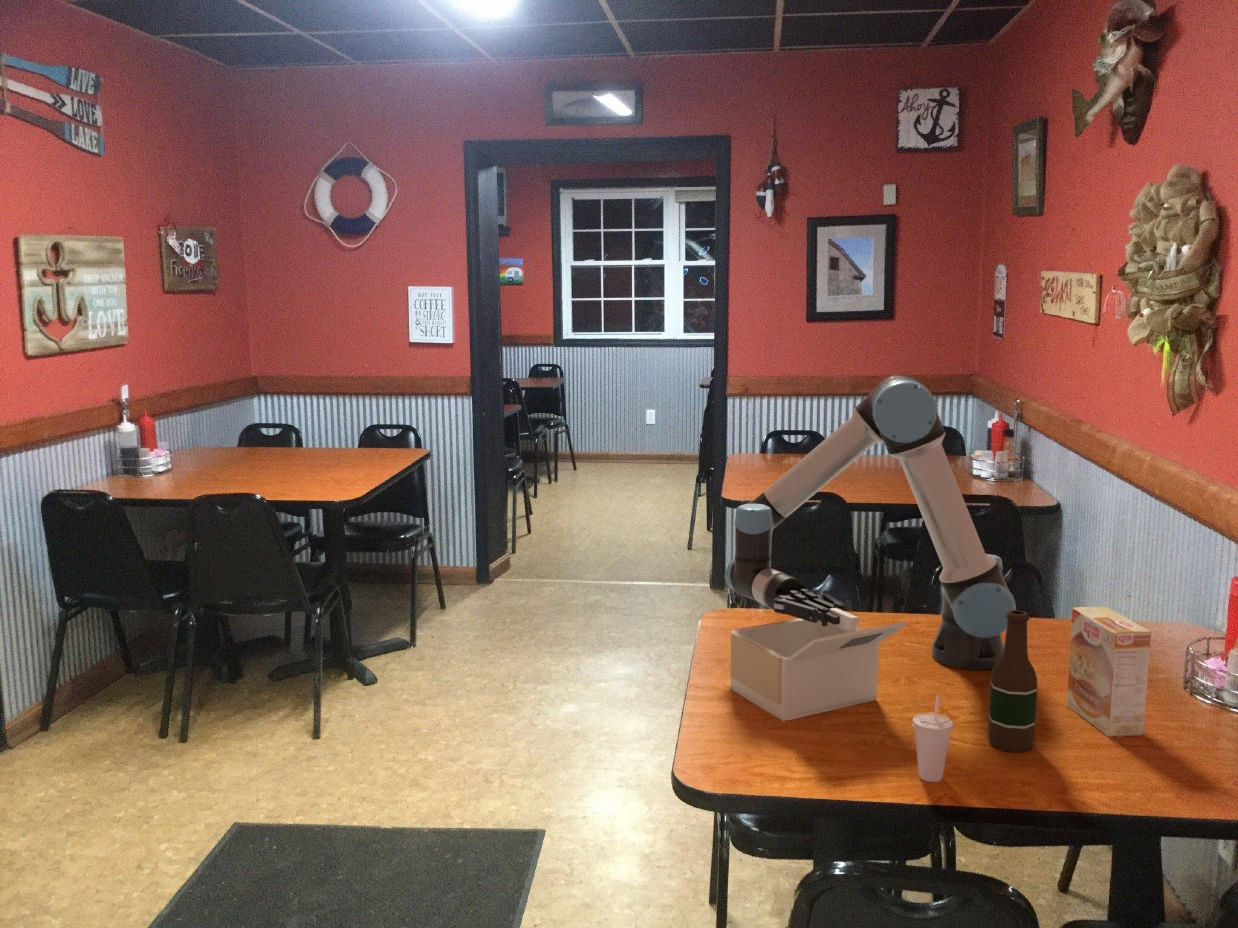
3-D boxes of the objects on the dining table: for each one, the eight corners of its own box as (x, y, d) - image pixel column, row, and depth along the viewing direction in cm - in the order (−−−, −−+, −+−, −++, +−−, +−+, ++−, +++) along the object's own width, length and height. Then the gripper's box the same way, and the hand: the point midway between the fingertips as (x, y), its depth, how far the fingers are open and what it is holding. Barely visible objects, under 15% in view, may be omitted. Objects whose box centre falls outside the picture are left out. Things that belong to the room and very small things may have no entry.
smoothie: (955, 785, 172) (959, 703, 170) (915, 785, 172) (919, 703, 170) (944, 767, 178) (948, 688, 176) (905, 767, 178) (909, 688, 176)
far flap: (814, 639, 188) (815, 642, 188) (906, 621, 197) (907, 625, 197) (786, 658, 196) (788, 662, 196) (876, 640, 205) (877, 644, 205)
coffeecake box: (1064, 704, 205) (1071, 606, 201) (1100, 703, 205) (1107, 605, 202) (1106, 737, 190) (1114, 632, 187) (1145, 735, 191) (1153, 630, 187)
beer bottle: (1028, 757, 182) (1037, 621, 178) (982, 747, 186) (989, 614, 182) (1038, 740, 189) (1046, 609, 185) (992, 731, 193) (999, 602, 189)
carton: (726, 688, 214) (726, 631, 212) (819, 669, 224) (821, 614, 222) (780, 721, 197) (782, 659, 195) (878, 699, 208) (881, 640, 206)
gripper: (805, 605, 217) (882, 639, 197) (751, 614, 212) (825, 650, 191) (806, 569, 216) (883, 600, 195) (752, 577, 210) (826, 609, 190)
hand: (854, 624), depth 193 cm, fingers closed
